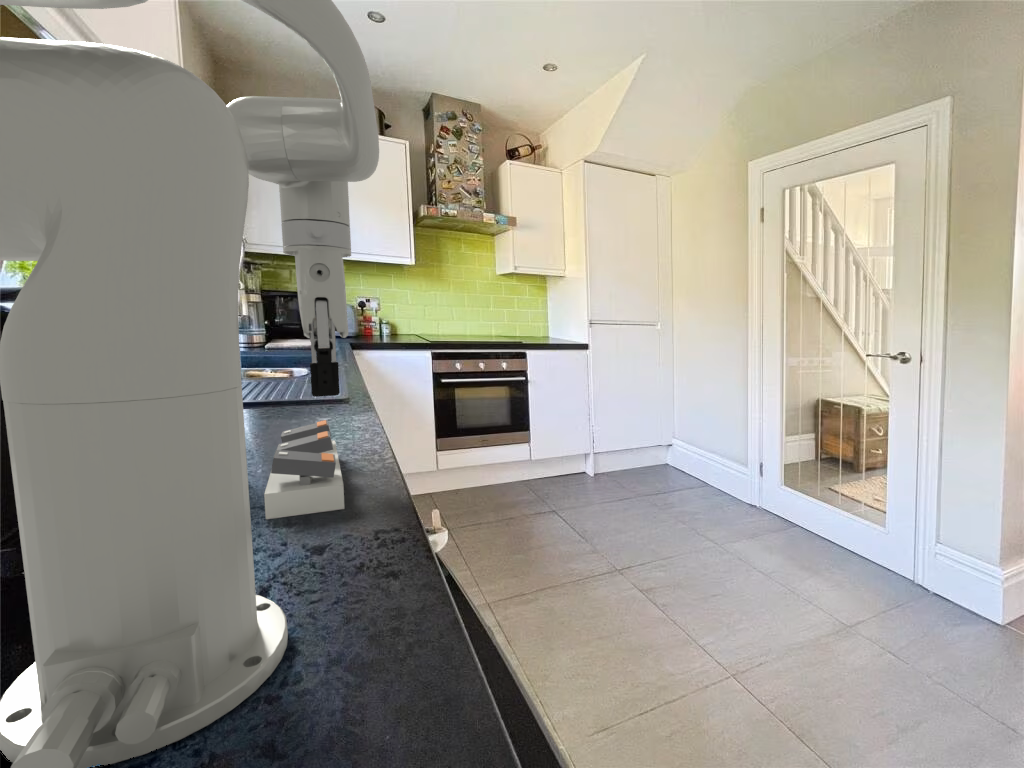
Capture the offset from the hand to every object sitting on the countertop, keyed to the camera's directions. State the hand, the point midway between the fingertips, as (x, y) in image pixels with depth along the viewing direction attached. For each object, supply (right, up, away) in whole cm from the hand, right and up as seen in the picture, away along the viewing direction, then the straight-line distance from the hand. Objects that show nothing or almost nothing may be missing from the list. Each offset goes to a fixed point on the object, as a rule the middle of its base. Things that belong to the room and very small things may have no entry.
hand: (325, 394), depth 60 cm
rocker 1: (-5, -6, +6) cm, 10 cm away
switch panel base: (-2, -11, 0) cm, 11 cm away
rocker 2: (-2, -6, -1) cm, 7 cm away
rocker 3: (+1, -7, -8) cm, 11 cm away
